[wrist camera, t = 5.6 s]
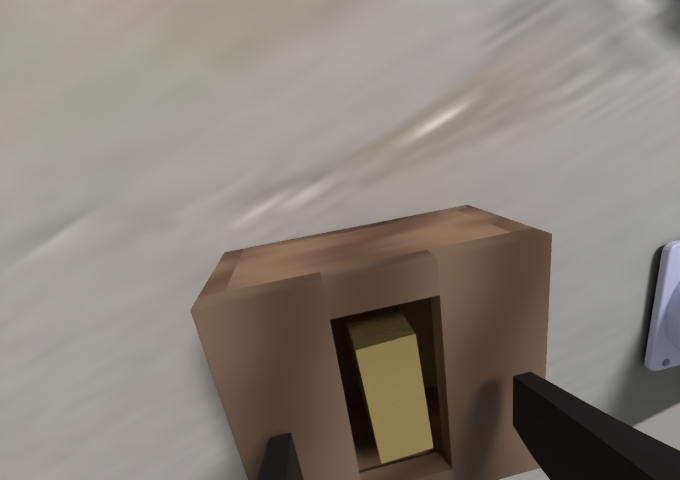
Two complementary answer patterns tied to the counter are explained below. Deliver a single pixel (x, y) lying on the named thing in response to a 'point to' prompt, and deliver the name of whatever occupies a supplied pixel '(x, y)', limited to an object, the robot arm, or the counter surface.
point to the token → (390, 381)
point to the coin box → (422, 315)
